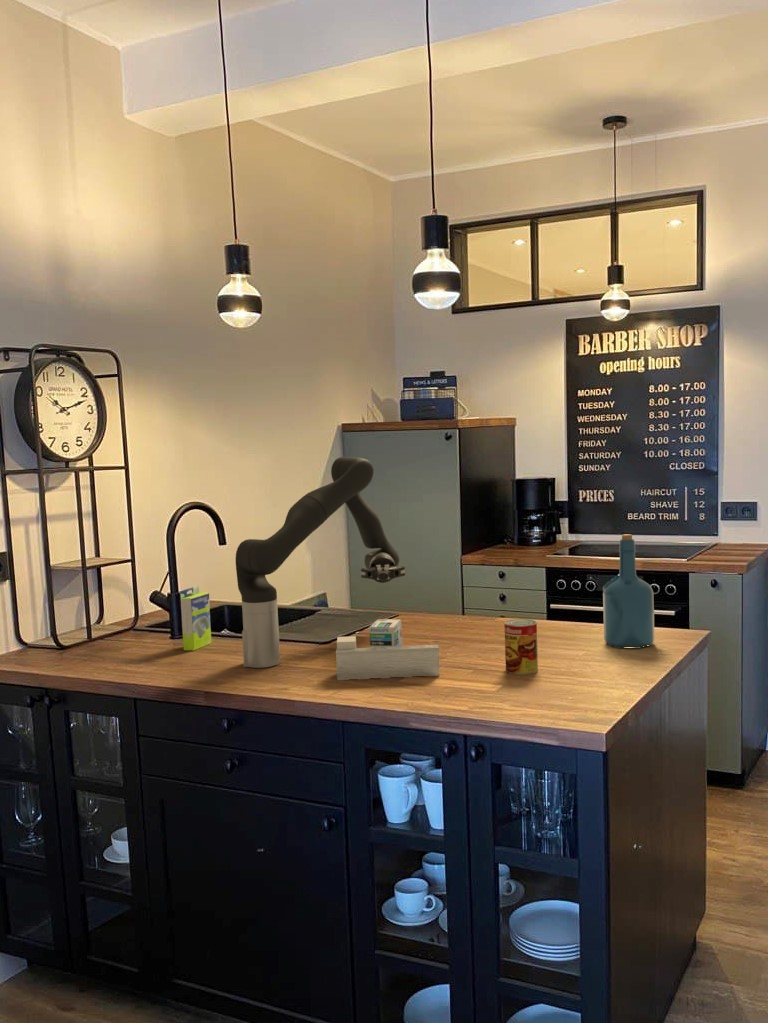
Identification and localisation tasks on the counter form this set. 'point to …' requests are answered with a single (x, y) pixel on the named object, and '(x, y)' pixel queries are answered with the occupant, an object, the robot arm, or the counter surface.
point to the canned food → (521, 646)
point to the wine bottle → (628, 603)
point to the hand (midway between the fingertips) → (383, 576)
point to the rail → (387, 662)
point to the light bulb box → (386, 633)
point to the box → (195, 619)
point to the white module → (346, 642)
